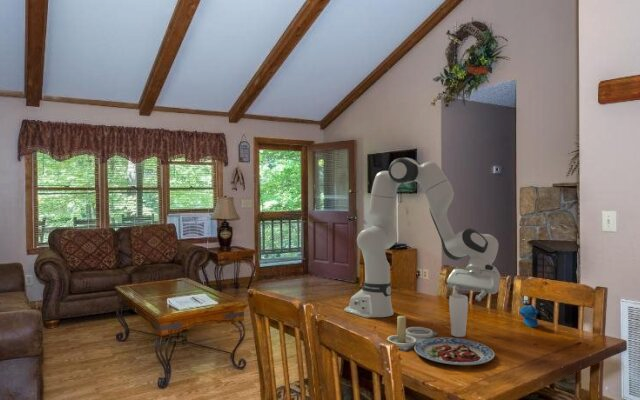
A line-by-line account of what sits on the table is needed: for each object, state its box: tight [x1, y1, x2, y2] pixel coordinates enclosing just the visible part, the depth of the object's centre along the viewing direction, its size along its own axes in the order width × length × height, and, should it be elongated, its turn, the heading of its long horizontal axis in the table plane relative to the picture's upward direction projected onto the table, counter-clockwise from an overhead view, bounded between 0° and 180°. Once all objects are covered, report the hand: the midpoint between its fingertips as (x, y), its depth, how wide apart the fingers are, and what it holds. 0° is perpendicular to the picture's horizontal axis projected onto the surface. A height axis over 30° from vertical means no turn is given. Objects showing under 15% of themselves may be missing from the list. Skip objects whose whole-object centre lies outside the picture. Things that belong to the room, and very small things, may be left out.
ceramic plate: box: [413, 337, 495, 366], centre depth 156 cm, size 26×26×3 cm
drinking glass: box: [448, 294, 469, 338], centre depth 177 cm, size 7×7×15 cm
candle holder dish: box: [386, 315, 439, 352], centre depth 172 cm, size 10×24×10 cm, turn 140°
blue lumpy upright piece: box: [518, 304, 539, 328], centre depth 190 cm, size 7×9×12 cm
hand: (466, 298), depth 181 cm, fingers open, 8 cm apart
